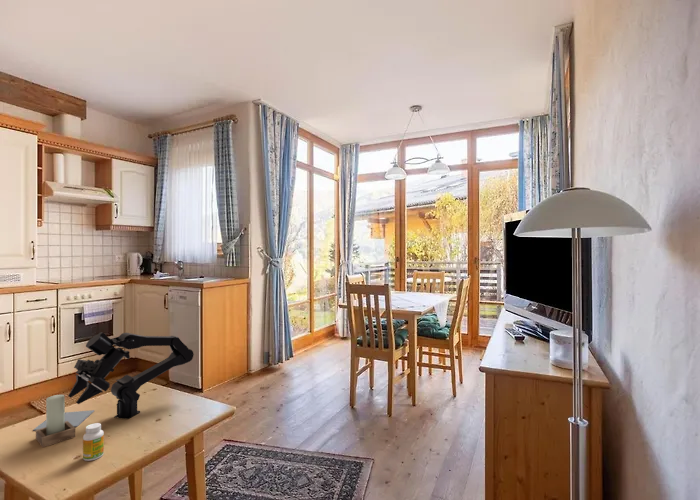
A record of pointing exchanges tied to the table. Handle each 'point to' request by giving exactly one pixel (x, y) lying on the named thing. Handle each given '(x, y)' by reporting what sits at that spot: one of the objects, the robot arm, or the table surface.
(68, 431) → the brown square open box
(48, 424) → the green bottle
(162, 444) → the table surface
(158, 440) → the table surface
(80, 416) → the mat
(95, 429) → the supplement bottle
